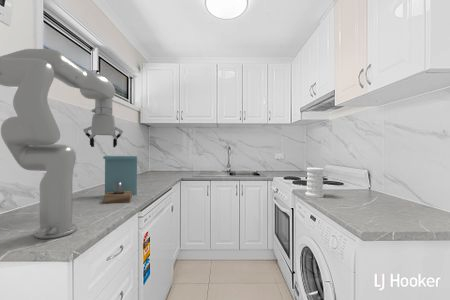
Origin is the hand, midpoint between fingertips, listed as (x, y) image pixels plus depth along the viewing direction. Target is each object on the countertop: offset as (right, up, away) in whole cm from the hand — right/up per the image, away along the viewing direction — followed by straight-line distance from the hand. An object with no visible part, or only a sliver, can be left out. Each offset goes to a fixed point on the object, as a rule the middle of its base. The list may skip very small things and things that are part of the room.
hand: (103, 147), depth 115 cm
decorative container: (+119, -32, +41) cm, 130 cm away
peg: (-1, -30, +17) cm, 35 cm away
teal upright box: (-4, -30, +27) cm, 40 cm away
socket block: (-1, -30, +18) cm, 35 cm away
